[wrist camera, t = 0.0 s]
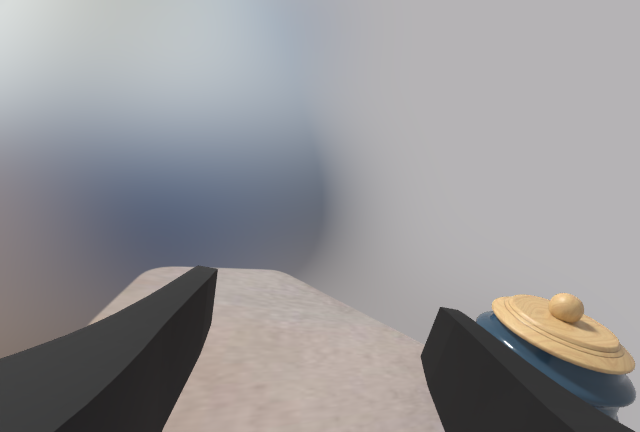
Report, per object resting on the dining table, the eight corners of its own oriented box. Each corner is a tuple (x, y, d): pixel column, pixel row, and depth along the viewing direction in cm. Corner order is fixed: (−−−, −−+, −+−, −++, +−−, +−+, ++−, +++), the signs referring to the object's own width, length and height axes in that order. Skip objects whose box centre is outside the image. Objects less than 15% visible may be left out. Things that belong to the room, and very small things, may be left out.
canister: (478, 506, 28) (559, 325, 23) (425, 388, 40) (471, 256, 36) (617, 522, 29) (718, 352, 24) (523, 403, 41) (579, 276, 37)
